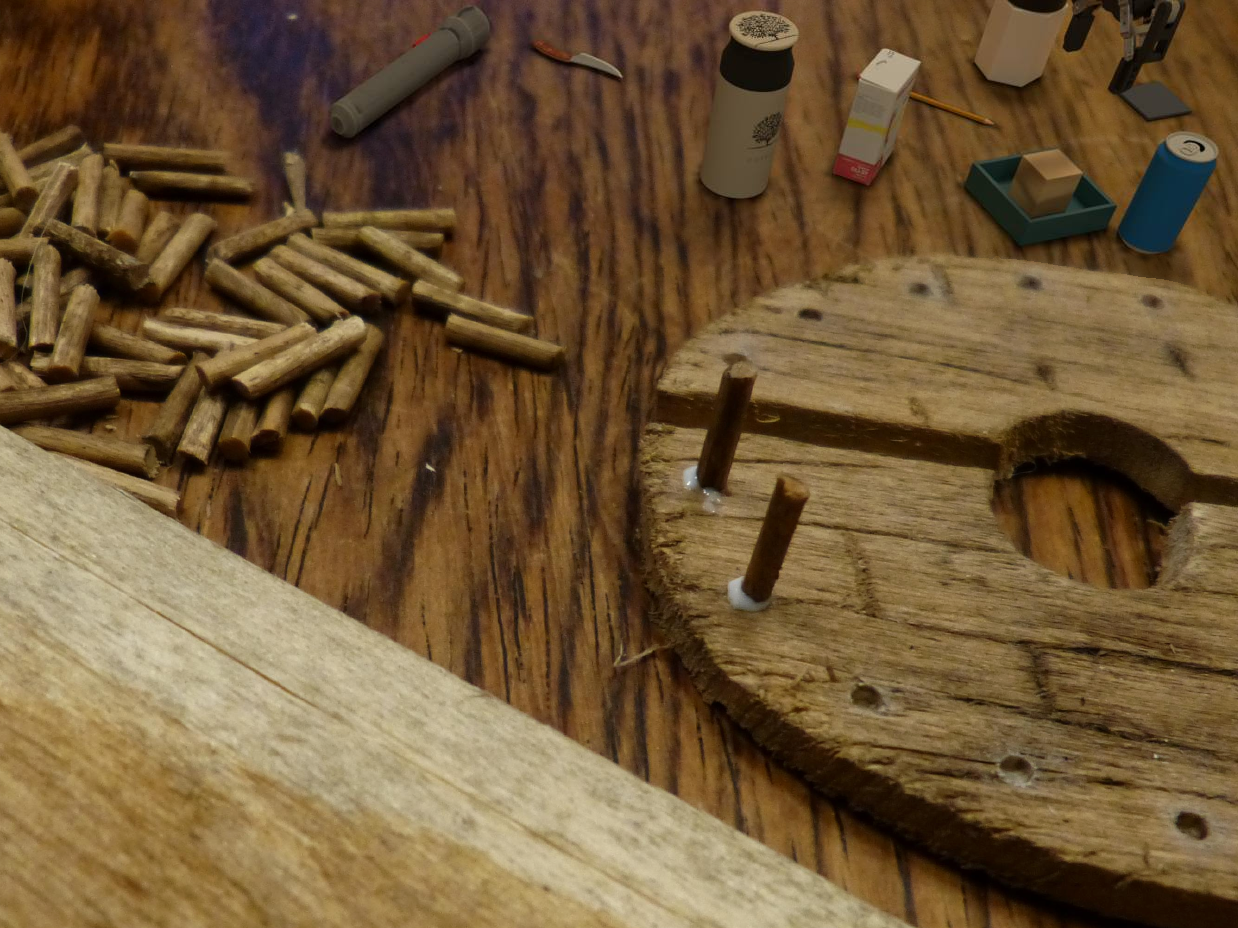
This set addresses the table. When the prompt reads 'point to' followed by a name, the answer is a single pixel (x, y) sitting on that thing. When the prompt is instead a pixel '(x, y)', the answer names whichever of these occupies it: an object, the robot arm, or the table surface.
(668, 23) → the table surface
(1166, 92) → the mat
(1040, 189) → the beech block
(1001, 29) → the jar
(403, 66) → the flashlight
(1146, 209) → the beverage can
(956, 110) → the pencil
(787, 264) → the table surface
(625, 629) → the table surface
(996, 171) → the tray
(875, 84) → the ink box
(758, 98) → the travel mug
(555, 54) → the knife
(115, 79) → the table surface
